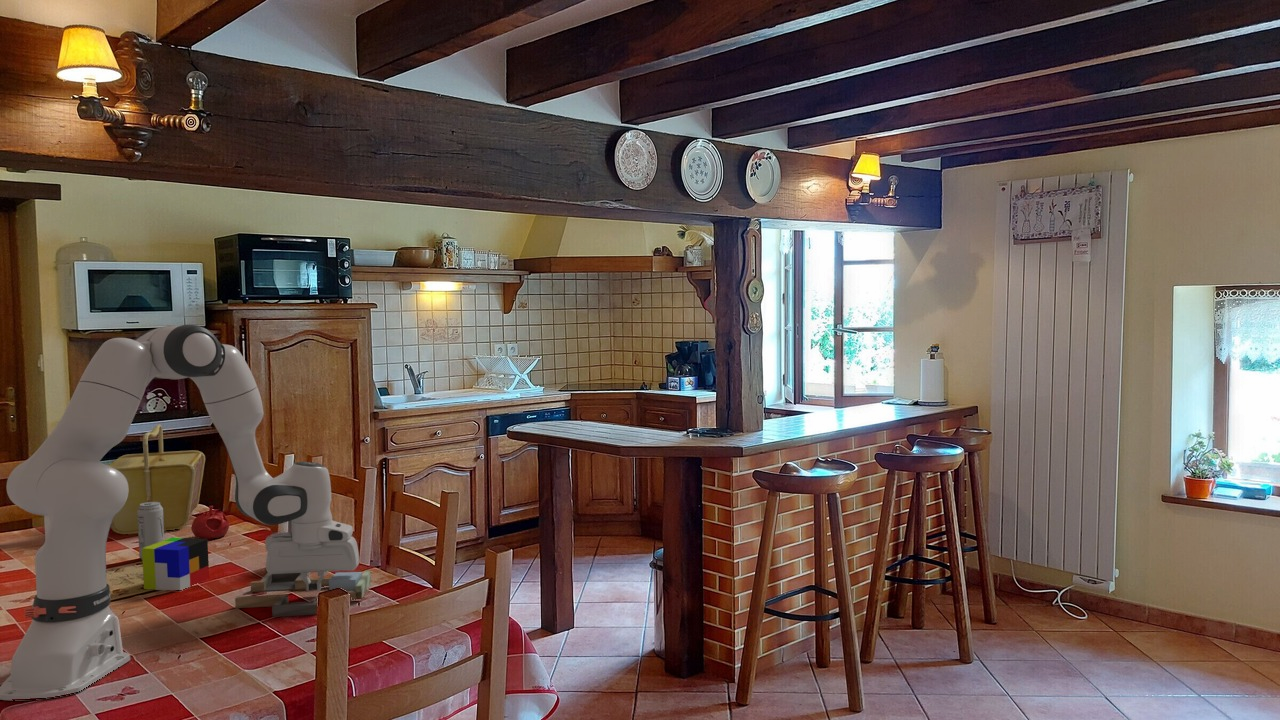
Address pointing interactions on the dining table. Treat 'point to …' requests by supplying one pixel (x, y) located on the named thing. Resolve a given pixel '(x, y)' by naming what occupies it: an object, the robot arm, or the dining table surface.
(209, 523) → the pomegranate
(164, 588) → the puzzle toy
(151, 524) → the energy drink can
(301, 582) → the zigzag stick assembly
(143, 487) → the picnic basket
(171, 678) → the dining table surface
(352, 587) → the block
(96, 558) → the robot arm
